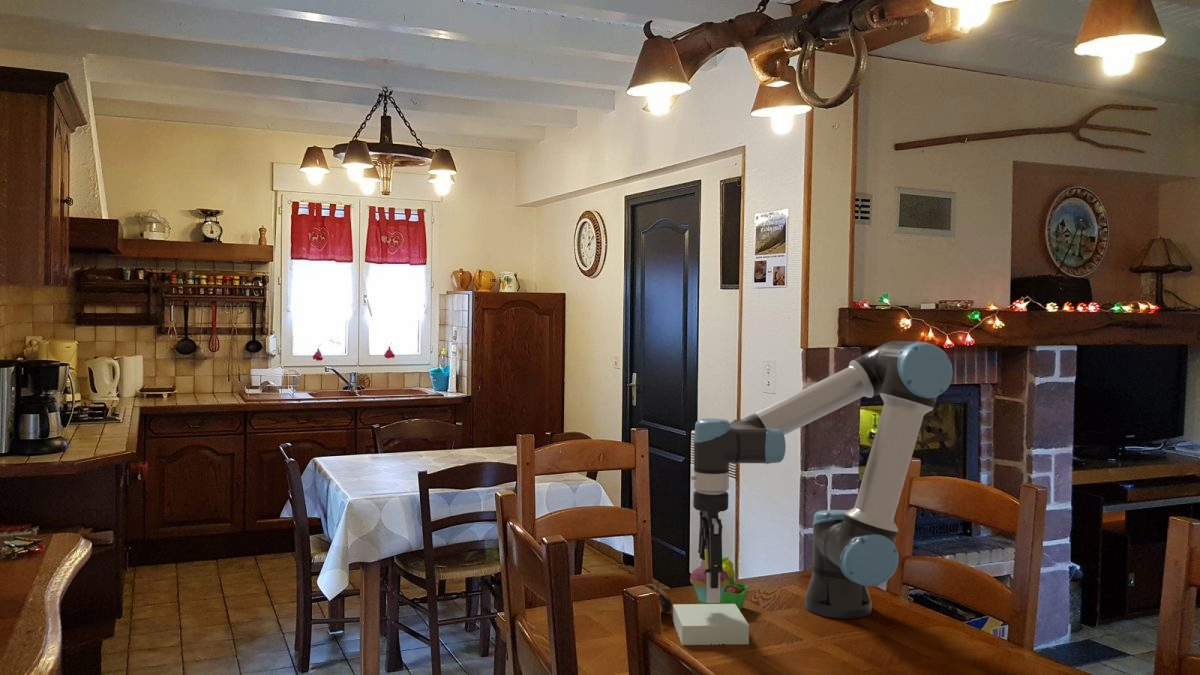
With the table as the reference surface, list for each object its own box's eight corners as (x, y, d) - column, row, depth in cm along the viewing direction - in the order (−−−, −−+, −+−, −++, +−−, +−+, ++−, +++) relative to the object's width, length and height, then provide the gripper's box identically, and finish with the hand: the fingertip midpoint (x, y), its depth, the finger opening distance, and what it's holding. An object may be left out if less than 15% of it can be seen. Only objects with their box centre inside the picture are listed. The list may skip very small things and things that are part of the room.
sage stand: (735, 621, 203) (735, 603, 203) (748, 644, 189) (748, 625, 189) (672, 622, 202) (673, 604, 202) (682, 645, 188) (682, 626, 188)
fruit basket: (693, 609, 211) (693, 561, 211) (703, 599, 219) (704, 552, 219) (741, 616, 207) (741, 567, 207) (750, 605, 215) (750, 557, 215)
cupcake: (718, 608, 190) (719, 551, 190) (682, 600, 194) (683, 545, 194) (735, 597, 197) (736, 542, 197) (700, 590, 202) (700, 537, 201)
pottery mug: (678, 626, 202) (662, 596, 200) (640, 642, 203) (623, 613, 201) (676, 596, 213) (660, 568, 211) (640, 611, 215) (624, 583, 213)
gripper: (686, 481, 205) (684, 581, 206) (701, 500, 184) (700, 611, 185) (719, 481, 206) (717, 581, 206) (738, 500, 185) (736, 611, 185)
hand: (709, 595), depth 196 cm, fingers closed on cupcake, 8 cm apart
